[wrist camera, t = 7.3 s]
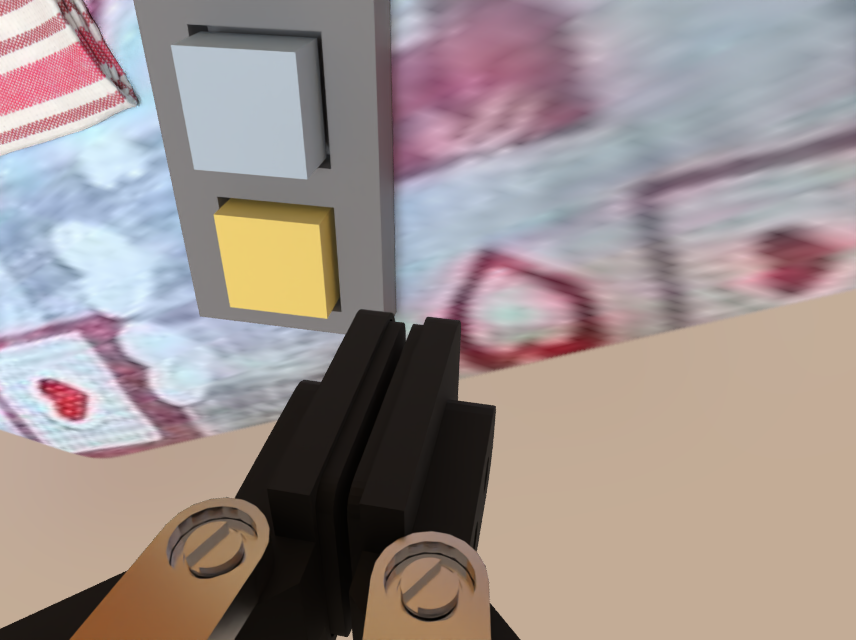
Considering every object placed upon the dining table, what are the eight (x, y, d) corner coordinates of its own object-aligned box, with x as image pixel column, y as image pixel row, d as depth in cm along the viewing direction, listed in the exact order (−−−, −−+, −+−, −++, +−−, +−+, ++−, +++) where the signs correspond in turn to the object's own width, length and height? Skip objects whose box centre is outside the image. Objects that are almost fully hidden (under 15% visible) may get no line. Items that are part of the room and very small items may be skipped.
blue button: (317, 37, 33) (295, 52, 31) (326, 157, 37) (307, 179, 34) (200, 31, 34) (170, 45, 32) (220, 148, 38) (194, 169, 35)
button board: (384, -253, 29) (365, -263, 26) (396, 312, 44) (384, 339, 42) (120, -250, 30) (78, -259, 28) (220, 291, 46) (199, 316, 44)
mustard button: (336, 201, 39) (319, 224, 37) (342, 292, 43) (327, 318, 40) (236, 192, 40) (213, 214, 38) (250, 281, 43) (230, 306, 41)
